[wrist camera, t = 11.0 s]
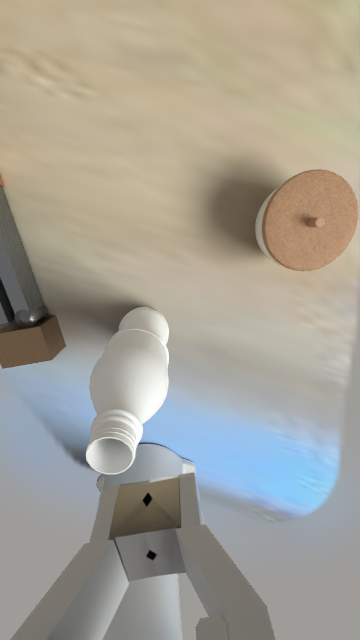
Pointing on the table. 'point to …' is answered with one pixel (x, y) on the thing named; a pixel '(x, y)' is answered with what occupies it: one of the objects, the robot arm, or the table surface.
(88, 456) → the water bottle
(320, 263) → the lidded jar
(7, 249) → the tong arm
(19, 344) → the tong base
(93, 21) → the table surface
